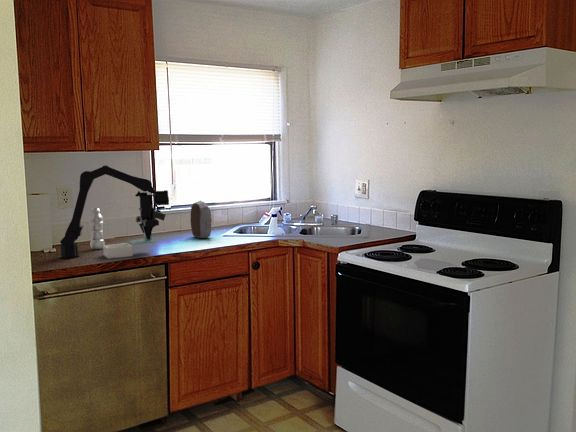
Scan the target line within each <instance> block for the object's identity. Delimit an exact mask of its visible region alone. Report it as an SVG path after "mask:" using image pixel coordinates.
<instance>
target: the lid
mask: <svg viewBox="0 0 576 432" xmlns="http://www.w3.org/2000/svg"><path fill="white" fill-rule="evenodd" d="M152 235H153V232H152V233H151V237H150V240H147V237H146V235H145V233H144V234H143V239H142V238H141V239H133V240H129V244H132V245H142V244H145V245H146V244H154V243H155V242H154V240H153V236H152Z"/></svg>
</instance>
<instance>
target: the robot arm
mask: <svg viewBox="0 0 576 432" xmlns="http://www.w3.org/2000/svg"><path fill="white" fill-rule="evenodd" d="M105 175H106V176H110V177H112V178H114V179H117V180H120V181H123V182H124V183H128V184H130V185H132V186H134V187H135V188H136V189H138V192H137V193H136V194H135V195H134V196H135V197H139V207H138V210H139V213H140V215H137V216H136V217H135V223H137V224H138V226H139V228H140V229H141V232H142V234H143V235H144V233H145V235H146V237H147V240H150V237H151V233H152V234H153V229H154V228H155V227H156V226H160V222H159V220H160V221H165V219H166V216H167V214H166V213H163V212H161V210H160V209H155V207H154V205H153V204H156V206H169V205H170V197H169V191H168V190H166V189H165V190H156V188H154V187H153V182H151V180H150V179H149V178H146V177H142V176H135V175H131V174H129V173H127V172H124V171H121V170H119V169H116V168H113V167H111V166H110V165H107V164H105V165H102V166H101V167H98V168H96V169H93V170H91V171H90V170H85V171H83V172H81V173H80V176H79V191H78V193H77V194H78V196H77V197H76V198H77V199H76V202H75V206H74V210H73V213H72V218H71V220H70V222H69V224H68V227H67V229H66V230H65V233H64V236H63V238H62V239H61V240H60V241H59V242H60V256H58V258H60V259H65V260H70V259H73V258H74V259H75V258H79V257H81V256H80V254H79V250H78V249H79V248H78V247H79V246H78V243H77V242H76V241H78V238H79V237H81V236H82V235H83V232H82V231H83V228H84V227H85V226H84V225H82V223H81V222H82V217H83V214H84V210H85V205H86V203H87V202H86V201H87V198H88V194H89V191H90V189H91V187H92V185H93V183H94V181H95V179H97V178H100V177H102V176H105ZM141 191H142V192H141ZM148 193H149V194H148Z"/></svg>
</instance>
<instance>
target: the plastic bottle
mask: <svg viewBox="0 0 576 432" xmlns="http://www.w3.org/2000/svg"><path fill="white" fill-rule="evenodd" d="M100 212H101V210H100V208H99V207H92V208H91V214H90V216H89V218H88V222H89V226H90V242H89V244H90V248H91V249H92V250H101V249H103V245H106V244H105V239H104V232H103V231H104V230H103V229H104V227H103V225H104V216H103V215H102V214H101V213H100Z"/></svg>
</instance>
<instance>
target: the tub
mask: <svg viewBox="0 0 576 432" xmlns="http://www.w3.org/2000/svg"><path fill="white" fill-rule="evenodd" d="M102 249H103V256H104V257H105V258H106V259H109V260H110V259H118V258H127V257H133V256H134V254H133V244H132V245H131V243H128V242H125V243H115V244H114V243H113V244H105V245H103V248H102Z"/></svg>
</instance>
